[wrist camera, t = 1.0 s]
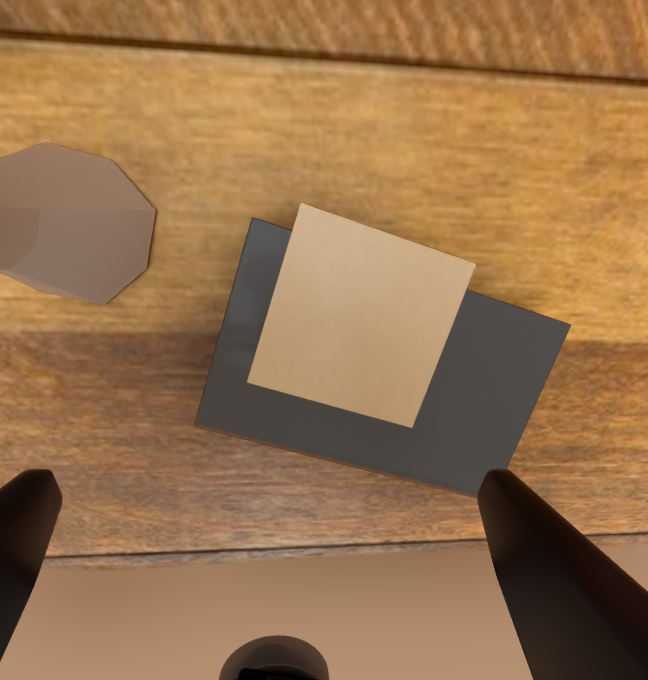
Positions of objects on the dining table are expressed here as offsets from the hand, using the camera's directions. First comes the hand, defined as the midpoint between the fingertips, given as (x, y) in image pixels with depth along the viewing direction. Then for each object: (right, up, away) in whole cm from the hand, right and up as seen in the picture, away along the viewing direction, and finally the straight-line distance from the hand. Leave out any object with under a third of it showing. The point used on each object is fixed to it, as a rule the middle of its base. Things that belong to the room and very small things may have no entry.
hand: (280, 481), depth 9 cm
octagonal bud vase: (-11, +8, +11) cm, 18 cm away
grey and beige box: (+4, +2, +14) cm, 15 cm away
